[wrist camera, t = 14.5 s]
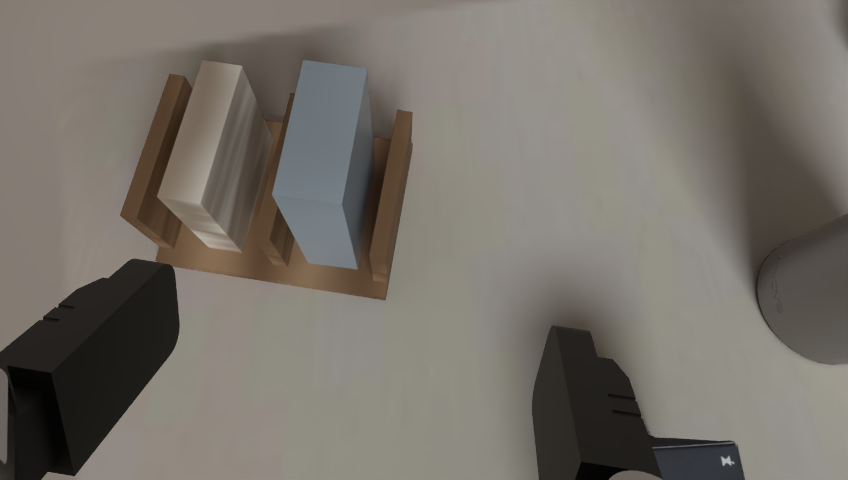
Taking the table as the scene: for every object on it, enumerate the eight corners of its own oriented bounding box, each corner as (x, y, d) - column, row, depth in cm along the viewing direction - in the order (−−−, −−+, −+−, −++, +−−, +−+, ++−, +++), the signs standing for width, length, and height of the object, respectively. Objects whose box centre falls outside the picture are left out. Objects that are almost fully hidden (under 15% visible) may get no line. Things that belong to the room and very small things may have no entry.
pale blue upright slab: (375, 166, 42) (367, 68, 31) (357, 269, 40) (342, 204, 28) (328, 160, 42) (303, 59, 31) (308, 263, 40) (271, 194, 28)
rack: (412, 149, 44) (416, 71, 34) (385, 300, 40) (381, 259, 31) (207, 117, 44) (155, 30, 35) (161, 264, 40) (88, 212, 31)
